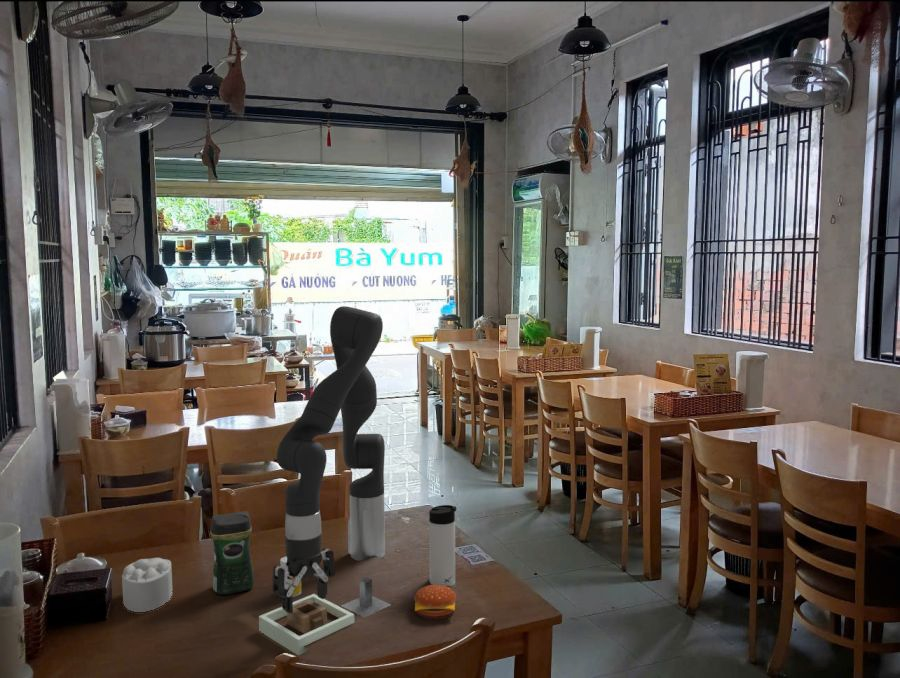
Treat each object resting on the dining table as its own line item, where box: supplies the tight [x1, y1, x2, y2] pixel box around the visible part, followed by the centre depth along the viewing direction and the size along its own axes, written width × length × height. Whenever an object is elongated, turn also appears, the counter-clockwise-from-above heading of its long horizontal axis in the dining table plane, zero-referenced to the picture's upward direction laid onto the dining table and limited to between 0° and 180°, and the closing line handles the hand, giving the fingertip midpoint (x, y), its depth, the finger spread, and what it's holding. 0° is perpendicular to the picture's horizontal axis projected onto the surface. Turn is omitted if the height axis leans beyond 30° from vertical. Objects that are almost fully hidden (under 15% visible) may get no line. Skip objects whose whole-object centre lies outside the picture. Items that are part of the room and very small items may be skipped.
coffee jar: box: [209, 510, 255, 595], centre depth 174 cm, size 10×8×19 cm
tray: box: [258, 593, 356, 656], centre depth 154 cm, size 14×14×3 cm
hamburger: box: [413, 584, 457, 621], centre depth 160 cm, size 9×10×7 cm
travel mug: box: [428, 504, 457, 588], centre depth 174 cm, size 6×7×20 cm
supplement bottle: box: [279, 555, 302, 598], centre depth 168 cm, size 5×5×10 cm
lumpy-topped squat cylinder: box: [121, 557, 173, 612], centre depth 168 cm, size 10×13×9 cm
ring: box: [286, 600, 328, 635], centre depth 153 cm, size 7×6×4 cm
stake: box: [340, 576, 392, 618], centre depth 162 cm, size 8×8×8 cm
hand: (305, 604), depth 154 cm, fingers open, 8 cm apart
